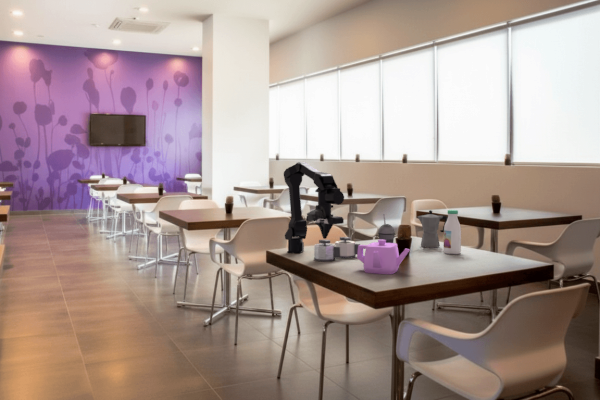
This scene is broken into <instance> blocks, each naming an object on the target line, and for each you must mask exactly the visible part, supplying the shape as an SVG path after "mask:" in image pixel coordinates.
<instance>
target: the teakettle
mask: <svg viewBox="0 0 600 400" xmlns="http://www.w3.org/2000/svg"><path fill="white" fill-rule="evenodd" d="M385 242H386V240H383V239H380V240H379V239H378V240H377V242H376V241H374V242H373V241H372V242H371V243H369V244H360V245H359V246H358V253H357V254H356V259H357V260H359V261H360V262H362V263H363V270H364V273H366V274H378V275H393V274H395V273H397V272H398V271H399V267H400V264H401V263H402V262H403V260H404V259H405V258H406V256H408V254H409V252H410V251H411V250H410V249H409V248H404V249H403V251H402V252H401V253H399V248H398V243H395V242H393V243H385ZM364 249H365V252H364Z"/></svg>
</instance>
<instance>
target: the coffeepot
mask: <svg viewBox="0 0 600 400" xmlns="http://www.w3.org/2000/svg"><path fill="white" fill-rule="evenodd" d="M428 212H429V214H428V213H427V214H424V215H423V214H422V215H418V216H416V217H417V218H418V221H419V222H420V223H421V226H422V230H423V233H422V236H421V237H422V238H421V242H420V247H422V248H427V249H428V248H429V249H431V248H432V249H433V248H435V249H436V248H440V247H441V246H440V239H439V234H438V230H439V226H440V221H441V220H442V221H443V220H444V224H443V226H442V229H441V230H439V232H441V233H444V226H445V223H446V221H447V219H448V215H436V214H433V210H432V209H431V210H428Z"/></svg>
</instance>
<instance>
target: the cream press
mask: <svg viewBox="0 0 600 400" xmlns="http://www.w3.org/2000/svg"><path fill="white" fill-rule="evenodd" d="M334 243H335V244H334V245H335V247H340V258H339V259H354V258H357V253H358V246H359V245H361V243H356V241H354V240H349V241H346V243H345V242H344V241H341V240H337V241H335V242H334ZM353 257H354V258H353Z"/></svg>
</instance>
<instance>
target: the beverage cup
mask: <svg viewBox="0 0 600 400" xmlns="http://www.w3.org/2000/svg"><path fill="white" fill-rule="evenodd" d="M382 216H383V224H382V225H381V226H380V227H379V229H378V233H377V234H378V238H379V239H378V240H380V239H383V240H386V242H385V243H394V239H395V235H396V233H395V229H394V227H393V226H392V225H391V224H389V223H386V217H385V213H383V215H382Z"/></svg>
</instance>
